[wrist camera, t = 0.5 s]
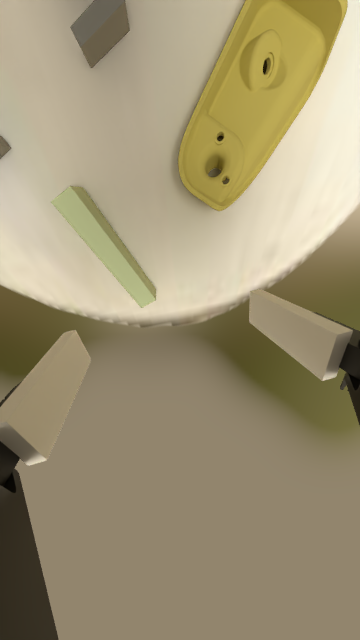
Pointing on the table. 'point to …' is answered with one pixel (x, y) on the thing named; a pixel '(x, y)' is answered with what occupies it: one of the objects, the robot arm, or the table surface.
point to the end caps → (95, 34)
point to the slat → (104, 243)
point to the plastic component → (256, 93)
